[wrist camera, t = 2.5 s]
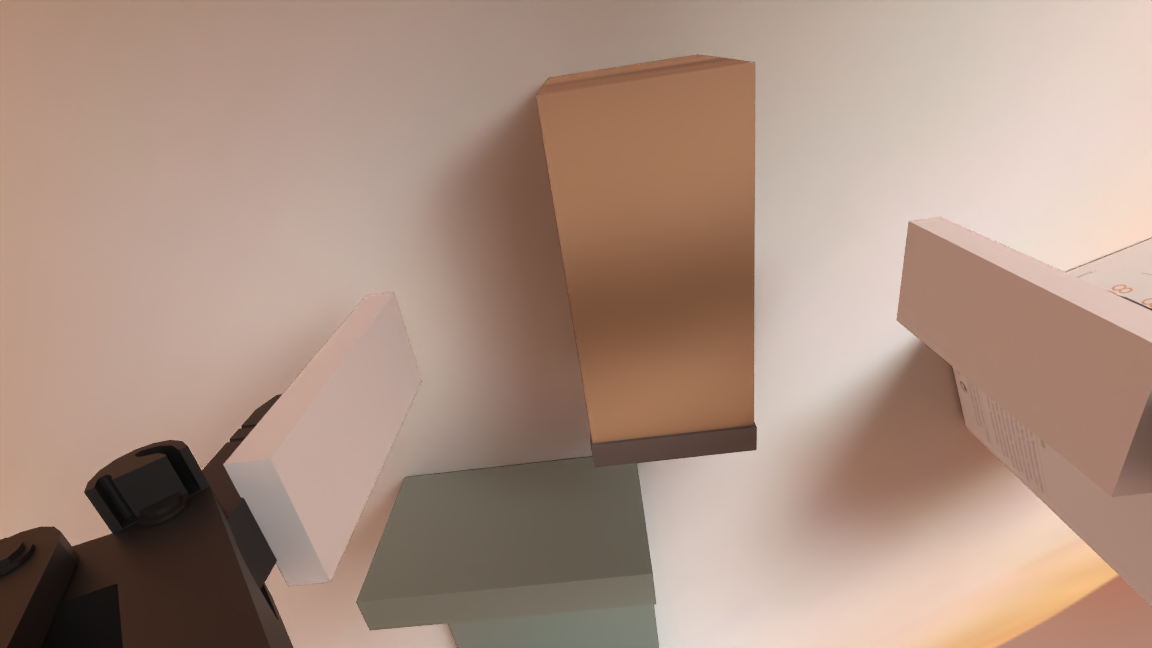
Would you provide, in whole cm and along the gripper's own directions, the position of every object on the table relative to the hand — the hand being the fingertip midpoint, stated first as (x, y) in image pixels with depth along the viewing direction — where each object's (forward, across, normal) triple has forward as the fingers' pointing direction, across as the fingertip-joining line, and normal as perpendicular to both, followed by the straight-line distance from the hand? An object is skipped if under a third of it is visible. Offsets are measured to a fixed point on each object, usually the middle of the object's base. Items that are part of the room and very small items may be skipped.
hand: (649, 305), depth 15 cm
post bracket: (+6, -6, -16) cm, 18 cm away
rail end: (+5, 0, +1) cm, 5 cm away
